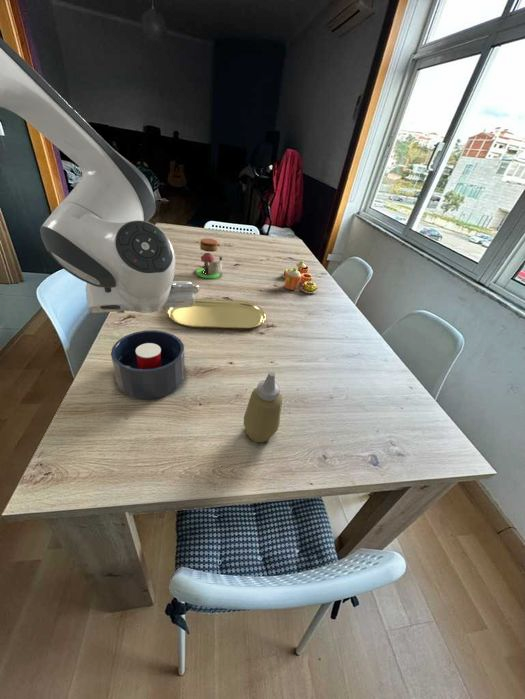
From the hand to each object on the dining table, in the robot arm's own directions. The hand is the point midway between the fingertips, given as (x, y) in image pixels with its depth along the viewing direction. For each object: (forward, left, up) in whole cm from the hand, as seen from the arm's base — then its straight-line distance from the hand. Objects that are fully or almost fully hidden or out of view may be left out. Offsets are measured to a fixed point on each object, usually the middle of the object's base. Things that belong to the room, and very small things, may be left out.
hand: (143, 308), depth 65 cm
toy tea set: (+80, +38, -20) cm, 91 cm away
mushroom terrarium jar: (+42, +57, -20) cm, 73 cm away
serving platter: (+30, +22, -20) cm, 42 cm away
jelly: (0, -1, -20) cm, 20 cm away
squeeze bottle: (+16, -28, -20) cm, 38 cm away
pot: (0, 0, -20) cm, 20 cm away
